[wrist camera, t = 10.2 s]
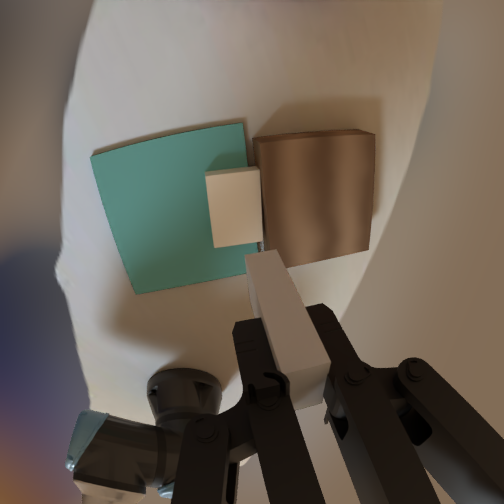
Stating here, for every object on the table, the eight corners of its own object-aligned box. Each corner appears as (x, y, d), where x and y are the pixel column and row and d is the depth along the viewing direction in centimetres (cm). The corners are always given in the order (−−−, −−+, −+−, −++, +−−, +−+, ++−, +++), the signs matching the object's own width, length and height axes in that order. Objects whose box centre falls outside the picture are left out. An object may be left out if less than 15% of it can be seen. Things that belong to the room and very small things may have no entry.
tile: (213, 240, 37) (214, 248, 35) (204, 171, 32) (205, 176, 30) (259, 233, 38) (262, 241, 36) (256, 166, 33) (259, 170, 31)
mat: (136, 291, 39) (136, 294, 39) (91, 156, 29) (89, 157, 28) (259, 268, 41) (260, 270, 41) (241, 122, 31) (242, 123, 30)
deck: (264, 254, 40) (272, 270, 37) (252, 138, 32) (259, 143, 28) (355, 236, 42) (368, 249, 38) (358, 129, 33) (375, 134, 30)
